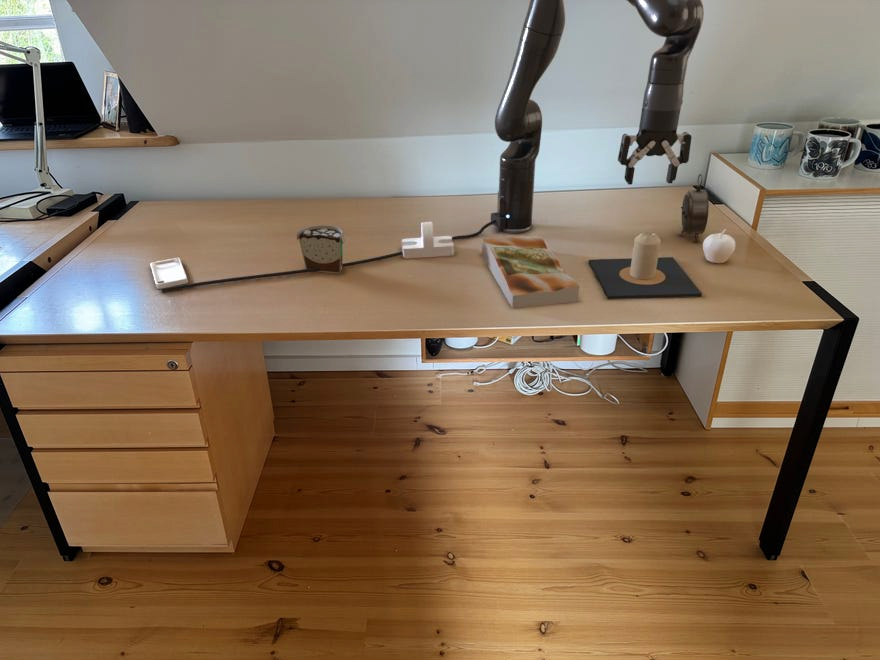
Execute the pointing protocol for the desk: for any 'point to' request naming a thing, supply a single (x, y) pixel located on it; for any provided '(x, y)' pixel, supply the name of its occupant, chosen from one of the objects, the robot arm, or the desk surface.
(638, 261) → the candle
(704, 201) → the alarm clock
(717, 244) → the plain white apple
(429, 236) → the slotted bracket
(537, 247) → the topographic model
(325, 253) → the food container
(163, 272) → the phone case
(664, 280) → the mat
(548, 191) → the desk surface
